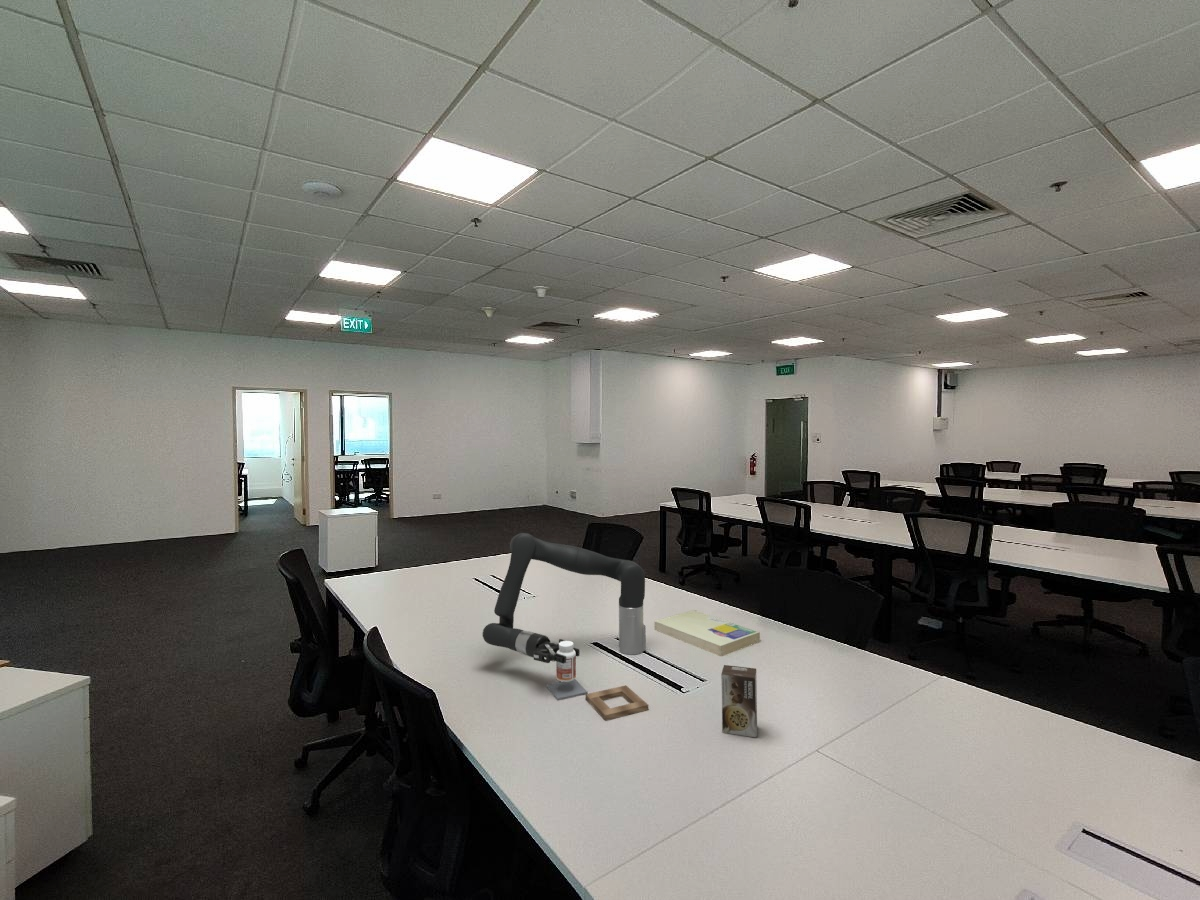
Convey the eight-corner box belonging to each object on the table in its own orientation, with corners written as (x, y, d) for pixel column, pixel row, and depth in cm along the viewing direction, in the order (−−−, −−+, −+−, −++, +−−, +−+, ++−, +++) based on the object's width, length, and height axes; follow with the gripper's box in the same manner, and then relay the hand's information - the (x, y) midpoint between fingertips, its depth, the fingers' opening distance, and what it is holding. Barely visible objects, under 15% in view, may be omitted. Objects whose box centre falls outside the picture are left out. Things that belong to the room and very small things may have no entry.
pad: (575, 680, 175) (575, 679, 175) (587, 693, 166) (587, 691, 166) (546, 686, 171) (546, 685, 171) (557, 700, 162) (557, 698, 162)
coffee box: (757, 726, 147) (757, 668, 146) (756, 738, 140) (756, 677, 140) (723, 720, 150) (723, 663, 149) (721, 732, 143) (721, 673, 143)
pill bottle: (566, 672, 173) (566, 638, 173) (579, 678, 169) (580, 643, 169) (552, 678, 169) (552, 643, 168) (565, 684, 164) (565, 648, 164)
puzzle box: (693, 619, 238) (653, 630, 223) (693, 609, 238) (653, 620, 223) (761, 643, 209) (720, 658, 194) (761, 632, 209) (720, 646, 194)
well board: (626, 690, 169) (626, 685, 169) (648, 709, 156) (648, 704, 156) (585, 699, 163) (585, 694, 163) (605, 720, 150) (605, 715, 150)
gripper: (517, 639, 171) (557, 651, 161) (546, 627, 183) (585, 637, 173) (517, 663, 171) (557, 676, 161) (546, 648, 183) (585, 660, 173)
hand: (572, 656), depth 167 cm, fingers closed on pill bottle, 6 cm apart
